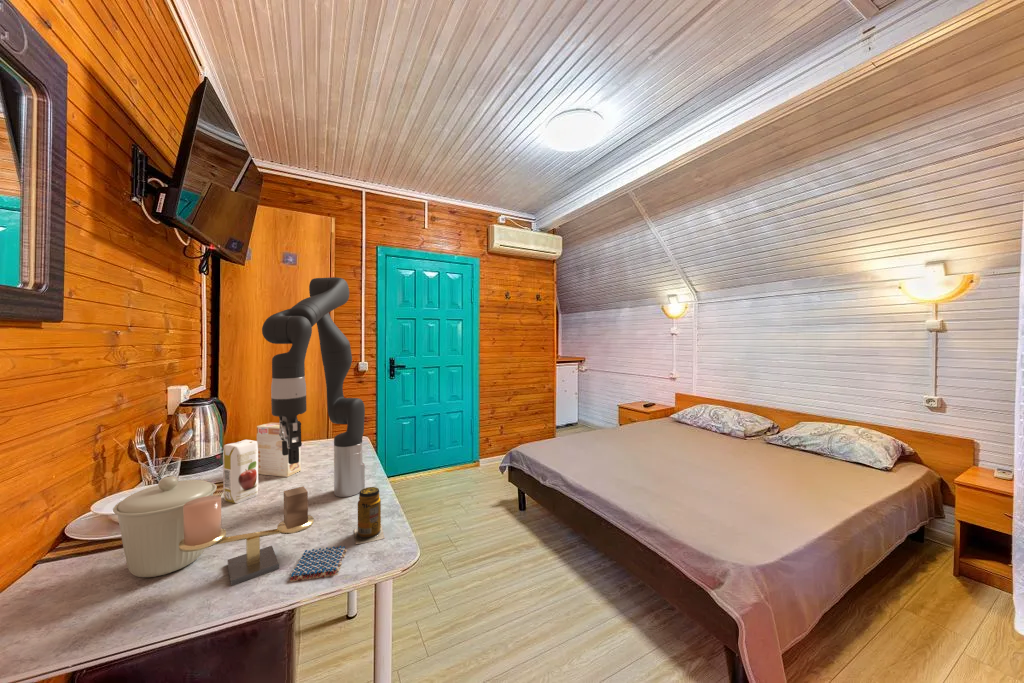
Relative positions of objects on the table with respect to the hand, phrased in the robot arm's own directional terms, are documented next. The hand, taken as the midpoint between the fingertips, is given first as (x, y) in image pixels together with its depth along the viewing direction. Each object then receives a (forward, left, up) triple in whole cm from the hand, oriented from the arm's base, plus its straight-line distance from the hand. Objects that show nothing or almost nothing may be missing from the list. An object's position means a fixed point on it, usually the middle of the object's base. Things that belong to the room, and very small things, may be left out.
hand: (290, 458), depth 92 cm
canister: (+23, -15, -24) cm, 36 cm away
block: (-1, 0, -17) cm, 17 cm away
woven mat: (-4, +10, -25) cm, 27 cm away
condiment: (-18, +4, -24) cm, 31 cm away
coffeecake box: (-8, -67, -24) cm, 71 cm away
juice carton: (+6, -48, -24) cm, 54 cm away
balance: (+8, 0, -24) cm, 25 cm away
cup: (+17, 0, -14) cm, 22 cm away
